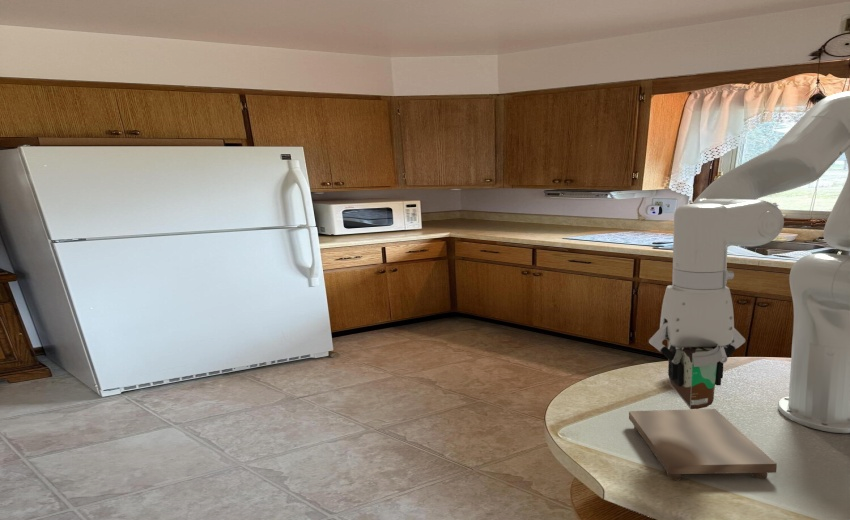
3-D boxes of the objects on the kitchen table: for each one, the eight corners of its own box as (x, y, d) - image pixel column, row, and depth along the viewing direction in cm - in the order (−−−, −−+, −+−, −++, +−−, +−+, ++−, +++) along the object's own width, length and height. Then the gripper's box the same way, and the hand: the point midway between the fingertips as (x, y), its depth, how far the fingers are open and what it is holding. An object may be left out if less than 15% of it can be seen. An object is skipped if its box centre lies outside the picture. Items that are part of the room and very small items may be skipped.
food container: (737, 413, 70) (737, 353, 68) (694, 413, 71) (694, 354, 69) (702, 379, 82) (702, 327, 80) (666, 380, 83) (665, 329, 81)
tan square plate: (714, 423, 86) (715, 408, 85) (775, 481, 69) (776, 463, 69) (628, 425, 87) (628, 411, 87) (668, 482, 71) (668, 465, 70)
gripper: (739, 272, 76) (734, 372, 79) (635, 277, 78) (634, 374, 81) (769, 281, 69) (762, 391, 72) (654, 286, 70) (652, 393, 73)
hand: (694, 381), depth 76 cm, fingers closed on food container, 5 cm apart
